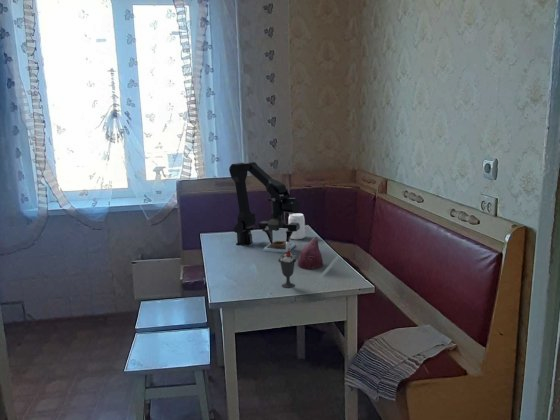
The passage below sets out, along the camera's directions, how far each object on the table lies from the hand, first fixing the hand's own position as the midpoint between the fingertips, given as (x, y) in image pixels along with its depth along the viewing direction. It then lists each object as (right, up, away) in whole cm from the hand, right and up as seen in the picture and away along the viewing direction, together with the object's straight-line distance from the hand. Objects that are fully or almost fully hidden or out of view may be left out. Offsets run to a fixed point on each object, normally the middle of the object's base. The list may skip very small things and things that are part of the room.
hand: (279, 244), depth 230 cm
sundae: (+3, -13, -45) cm, 47 cm away
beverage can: (+9, +1, +21) cm, 23 cm away
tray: (0, -3, +1) cm, 3 cm away
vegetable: (+13, -8, -26) cm, 30 cm away
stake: (+4, -5, -12) cm, 14 cm away
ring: (0, -2, 0) cm, 2 cm away
